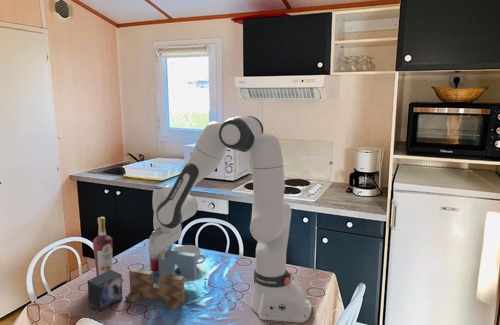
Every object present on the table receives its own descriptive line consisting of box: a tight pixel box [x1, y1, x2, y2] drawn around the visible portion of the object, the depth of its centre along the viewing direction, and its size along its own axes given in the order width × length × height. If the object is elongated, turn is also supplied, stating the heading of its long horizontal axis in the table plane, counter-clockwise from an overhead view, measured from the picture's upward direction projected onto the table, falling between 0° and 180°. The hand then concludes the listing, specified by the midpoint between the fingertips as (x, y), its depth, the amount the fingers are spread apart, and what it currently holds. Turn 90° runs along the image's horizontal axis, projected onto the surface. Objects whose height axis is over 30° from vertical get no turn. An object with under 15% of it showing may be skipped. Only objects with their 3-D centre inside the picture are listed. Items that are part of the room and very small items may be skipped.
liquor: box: [92, 216, 113, 277], centre depth 149 cm, size 7×7×28 cm
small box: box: [87, 269, 123, 313], centre depth 136 cm, size 11×6×10 cm, turn 148°
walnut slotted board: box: [125, 267, 189, 311], centre depth 140 cm, size 22×10×10 cm, turn 73°
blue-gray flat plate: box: [158, 249, 198, 281], centre depth 150 cm, size 16×2×10 cm, turn 73°
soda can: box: [149, 248, 167, 273], centre depth 163 cm, size 7×7×12 cm
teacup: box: [172, 244, 206, 270], centre depth 166 cm, size 15×12×8 cm
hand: (166, 256), depth 151 cm, fingers closed on blue-gray flat plate, 2 cm apart
